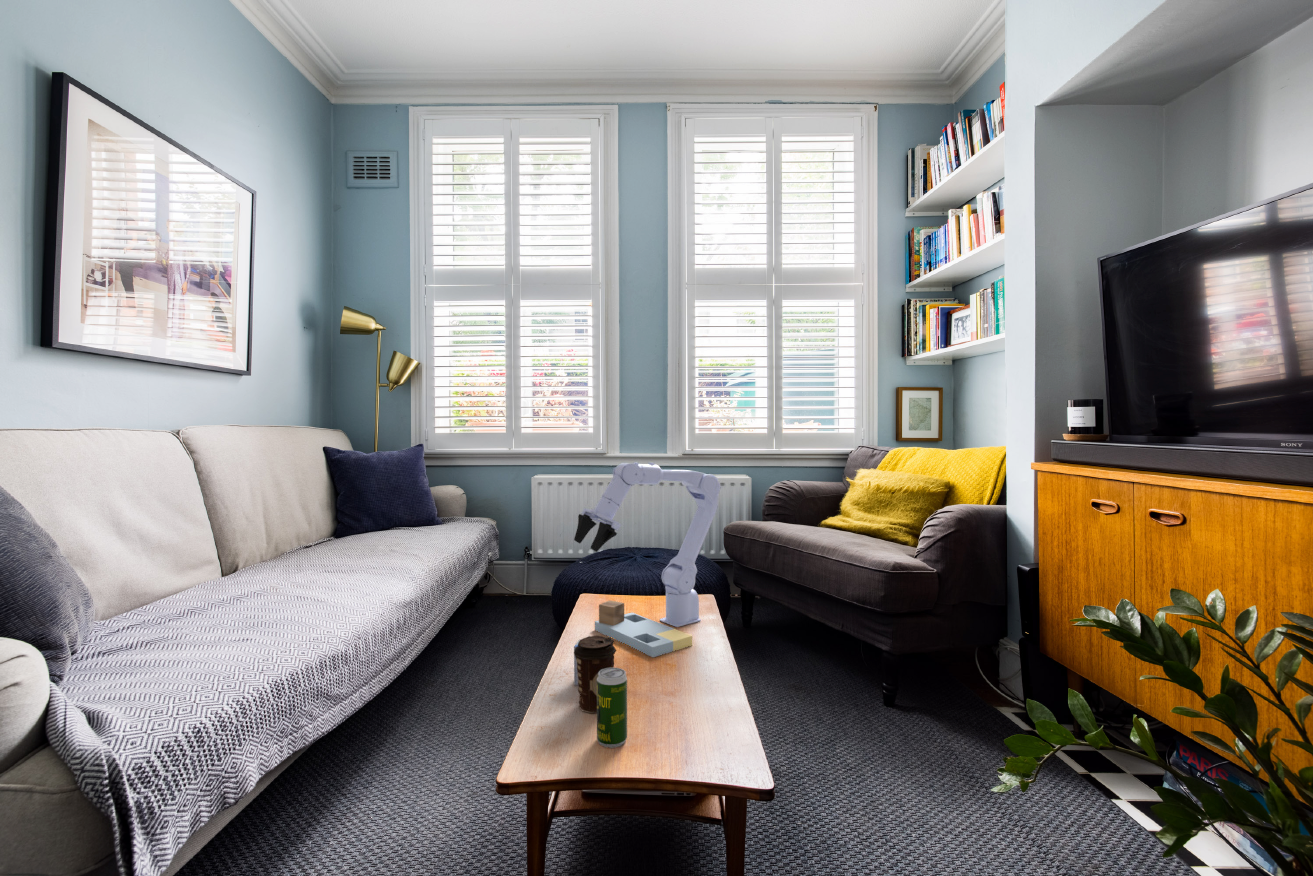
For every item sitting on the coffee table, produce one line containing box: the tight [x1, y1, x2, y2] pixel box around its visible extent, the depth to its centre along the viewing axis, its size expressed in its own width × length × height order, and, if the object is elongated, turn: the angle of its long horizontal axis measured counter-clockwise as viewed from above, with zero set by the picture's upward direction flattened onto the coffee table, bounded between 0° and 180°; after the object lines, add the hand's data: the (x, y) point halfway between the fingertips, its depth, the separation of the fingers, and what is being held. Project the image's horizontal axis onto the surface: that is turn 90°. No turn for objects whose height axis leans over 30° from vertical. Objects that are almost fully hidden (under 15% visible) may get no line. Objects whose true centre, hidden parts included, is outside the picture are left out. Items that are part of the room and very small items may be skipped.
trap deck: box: [594, 612, 693, 658], centre depth 156 cm, size 13×26×2 cm, turn 39°
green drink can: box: [596, 667, 628, 749], centre depth 103 cm, size 5×5×12 cm
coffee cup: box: [573, 635, 617, 714], centre depth 116 cm, size 9×8×13 cm
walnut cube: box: [598, 600, 625, 626], centre depth 162 cm, size 5×5×5 cm
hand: (584, 545), depth 156 cm, fingers open, 7 cm apart
